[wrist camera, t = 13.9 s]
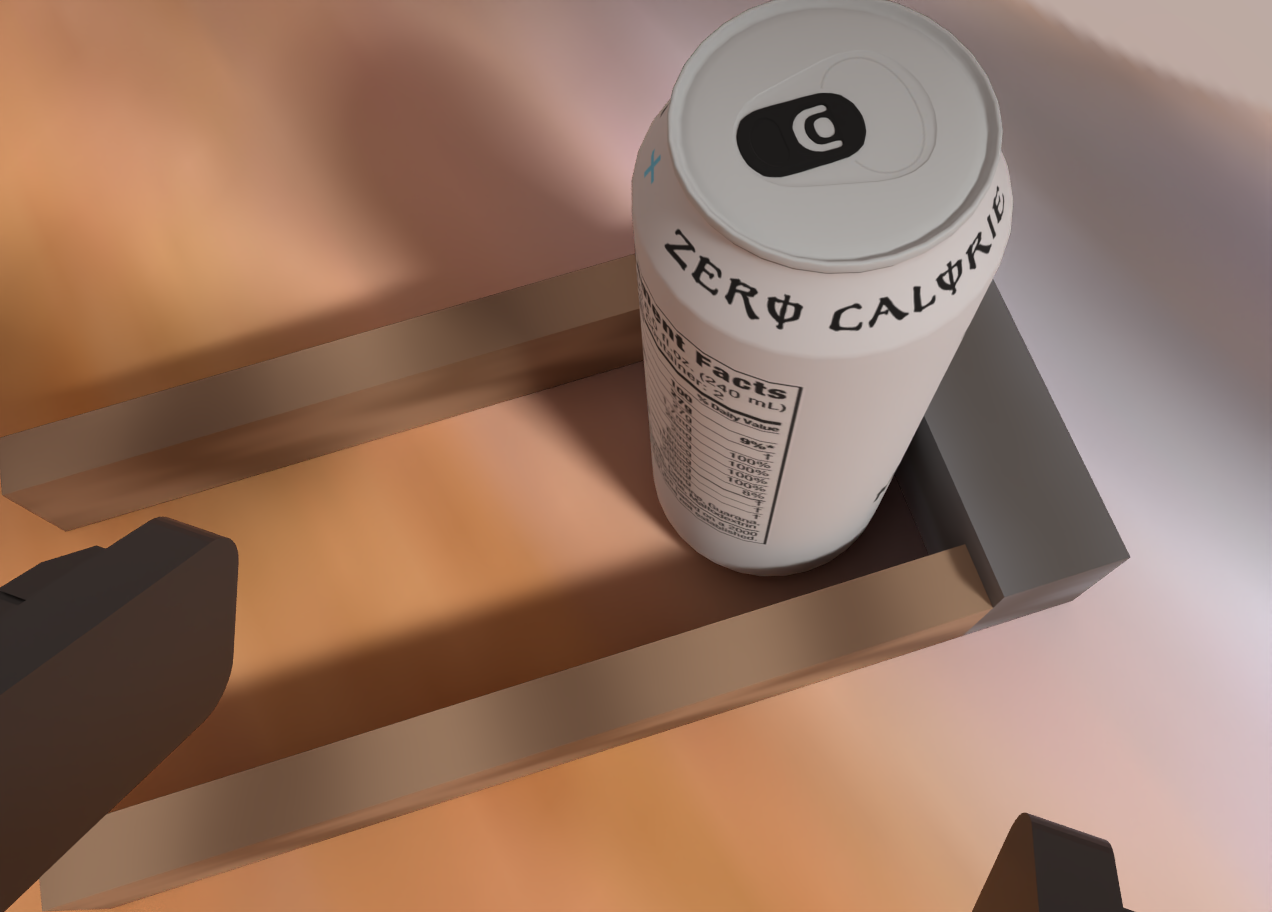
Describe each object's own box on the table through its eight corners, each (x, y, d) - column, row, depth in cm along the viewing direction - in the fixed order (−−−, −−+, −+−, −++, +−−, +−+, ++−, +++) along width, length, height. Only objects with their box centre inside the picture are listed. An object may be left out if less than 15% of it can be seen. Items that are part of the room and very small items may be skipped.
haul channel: (900, 232, 32) (928, 147, 29) (1072, 600, 28) (1130, 557, 25) (59, 478, 31) (-27, 423, 27) (110, 908, 27) (15, 912, 23)
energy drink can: (911, 546, 29) (1120, 232, 15) (694, 615, 29) (702, 358, 15) (829, 351, 31) (945, -81, 17) (626, 413, 31) (576, 20, 17)
